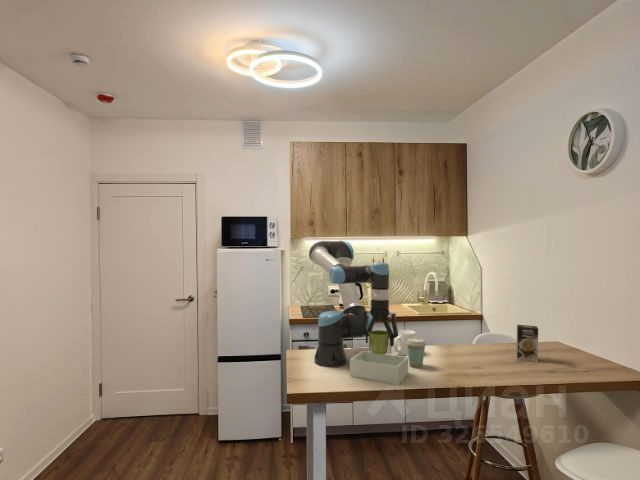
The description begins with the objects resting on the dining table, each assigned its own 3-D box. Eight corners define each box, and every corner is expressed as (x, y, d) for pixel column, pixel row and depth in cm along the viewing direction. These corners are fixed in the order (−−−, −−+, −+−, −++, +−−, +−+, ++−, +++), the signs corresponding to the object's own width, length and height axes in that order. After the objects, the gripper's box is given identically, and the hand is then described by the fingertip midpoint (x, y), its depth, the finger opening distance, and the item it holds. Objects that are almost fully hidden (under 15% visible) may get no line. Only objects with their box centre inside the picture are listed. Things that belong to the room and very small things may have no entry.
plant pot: (372, 356, 166) (372, 335, 166) (365, 350, 175) (365, 330, 175) (394, 355, 167) (394, 334, 167) (385, 349, 177) (385, 329, 177)
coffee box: (516, 360, 193) (517, 326, 193) (515, 356, 199) (516, 324, 199) (538, 362, 190) (538, 328, 190) (536, 358, 196) (536, 325, 196)
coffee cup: (426, 369, 178) (426, 342, 178) (406, 368, 180) (406, 341, 180) (425, 363, 186) (425, 338, 186) (406, 362, 188) (406, 337, 188)
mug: (403, 358, 195) (403, 336, 195) (387, 353, 203) (388, 332, 203) (421, 353, 203) (421, 332, 203) (405, 349, 211) (405, 328, 211)
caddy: (349, 375, 169) (349, 359, 169) (362, 365, 183) (362, 350, 183) (398, 384, 160) (398, 366, 160) (408, 373, 173) (408, 357, 173)
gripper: (353, 298, 173) (353, 351, 173) (401, 301, 163) (401, 357, 163) (359, 296, 179) (359, 346, 179) (406, 299, 170) (406, 353, 170)
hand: (379, 352), depth 171 cm, fingers closed on plant pot, 8 cm apart
